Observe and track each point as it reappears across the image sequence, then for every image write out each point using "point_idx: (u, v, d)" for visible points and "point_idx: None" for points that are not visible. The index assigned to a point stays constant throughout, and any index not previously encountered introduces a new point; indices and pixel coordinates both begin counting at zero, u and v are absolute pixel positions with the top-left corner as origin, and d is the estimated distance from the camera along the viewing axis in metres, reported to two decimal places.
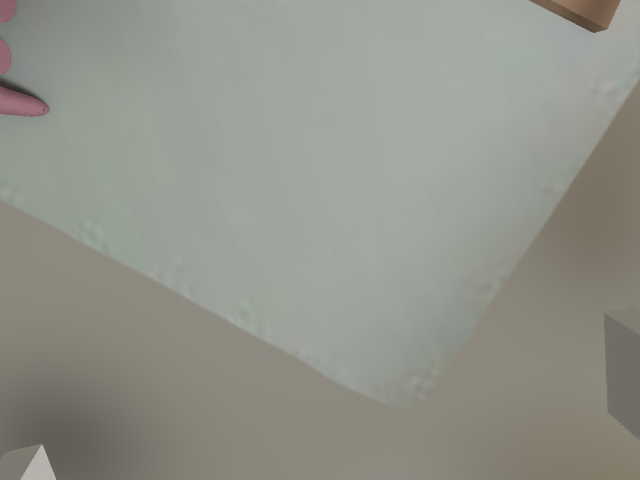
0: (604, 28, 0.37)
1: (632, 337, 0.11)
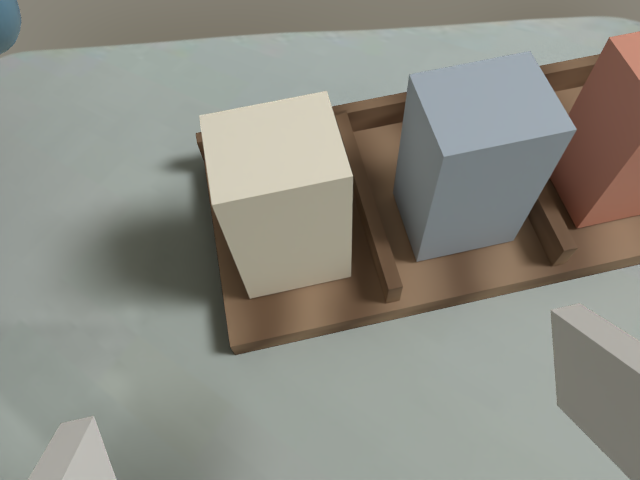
0: None
1: (573, 333, 0.12)
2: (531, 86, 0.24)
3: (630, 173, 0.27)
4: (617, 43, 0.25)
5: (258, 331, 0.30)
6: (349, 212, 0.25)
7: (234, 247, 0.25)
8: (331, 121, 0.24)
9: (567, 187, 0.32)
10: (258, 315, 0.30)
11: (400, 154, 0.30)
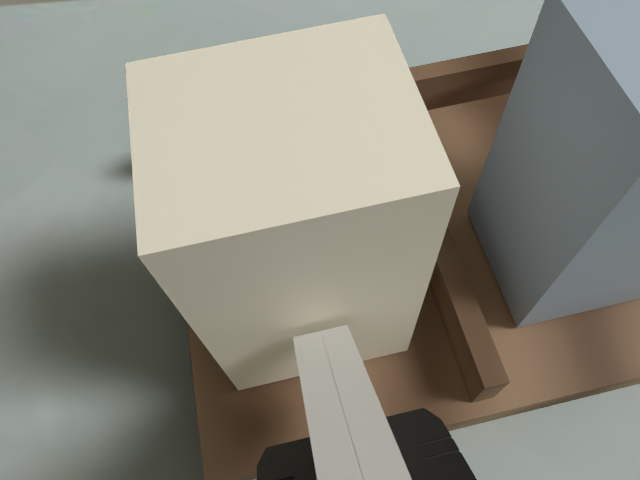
0: None
1: (325, 353, 0.13)
2: None
3: None
4: None
5: (253, 455, 0.17)
6: (431, 257, 0.12)
7: (202, 326, 0.13)
8: (400, 71, 0.11)
9: None
10: (253, 424, 0.18)
11: (496, 148, 0.17)
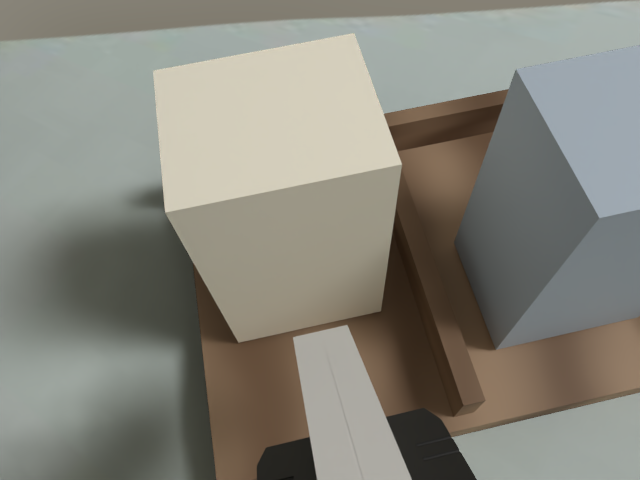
0: None
1: (325, 353, 0.13)
2: None
3: None
4: None
5: None
6: (389, 223, 0.16)
7: (209, 276, 0.16)
8: (362, 78, 0.15)
9: None
10: (260, 434, 0.20)
11: (477, 192, 0.20)
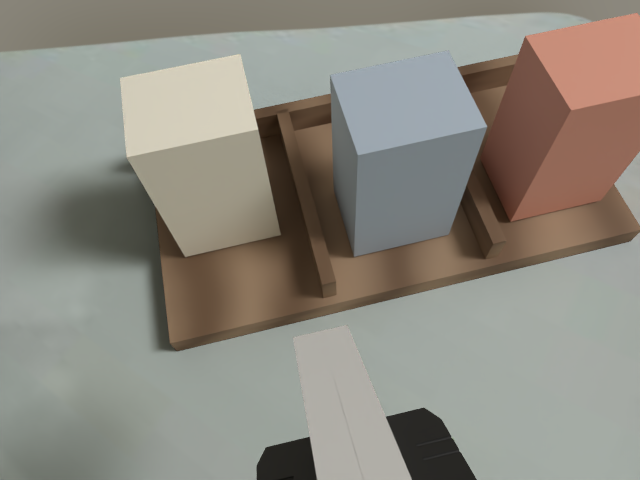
0: (638, 231, 0.33)
1: (326, 353, 0.13)
2: (447, 85, 0.25)
3: (551, 167, 0.28)
4: (532, 41, 0.26)
5: (198, 327, 0.31)
6: (263, 167, 0.27)
7: (158, 201, 0.27)
8: (242, 81, 0.26)
9: (500, 181, 0.33)
10: (198, 312, 0.31)
11: (333, 152, 0.31)
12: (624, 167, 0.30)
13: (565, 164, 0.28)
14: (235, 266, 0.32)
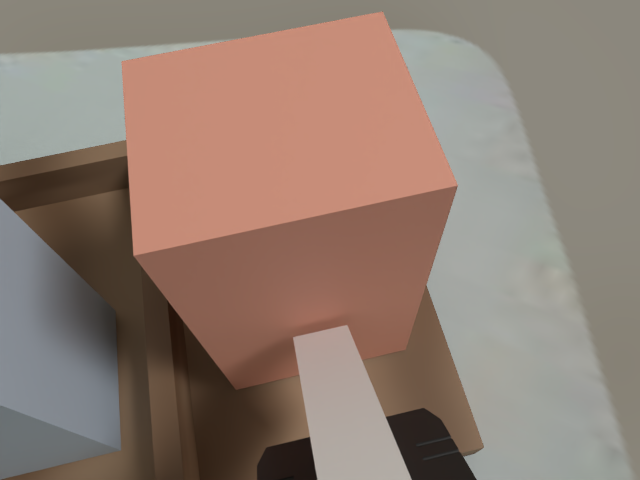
0: (478, 448, 0.17)
1: (326, 353, 0.13)
2: None
3: (227, 332, 0.14)
4: (130, 74, 0.12)
5: None
6: None
7: None
8: None
9: None
10: None
11: None
12: (411, 314, 0.15)
13: (257, 325, 0.14)
14: None
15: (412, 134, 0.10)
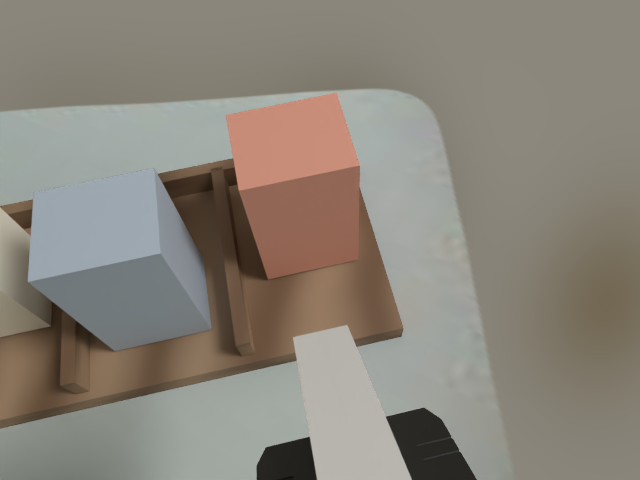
0: (400, 329, 0.33)
1: (326, 353, 0.13)
2: (139, 206, 0.26)
3: (267, 235, 0.30)
4: (230, 120, 0.28)
5: None
6: None
7: None
8: None
9: None
10: None
11: None
12: (355, 232, 0.32)
13: (281, 232, 0.30)
14: (1, 358, 0.33)
15: (344, 146, 0.27)
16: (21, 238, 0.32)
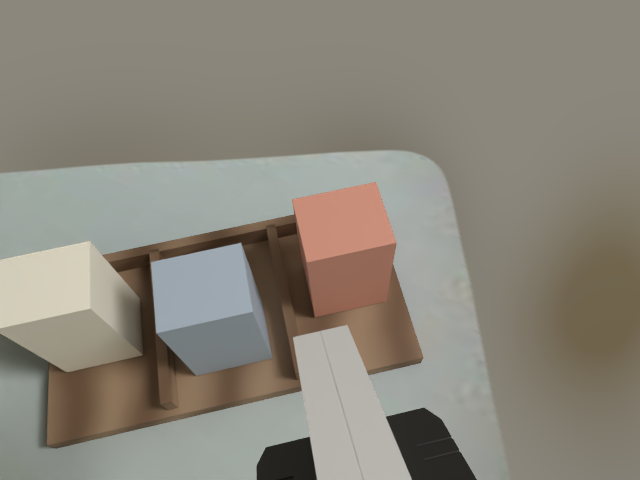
0: (421, 358, 0.42)
1: (325, 353, 0.13)
2: (232, 274, 0.34)
3: (321, 288, 0.39)
4: (295, 204, 0.37)
5: (69, 432, 0.40)
6: (106, 324, 0.36)
7: (29, 347, 0.36)
8: (86, 265, 0.35)
9: (308, 286, 0.43)
10: (71, 419, 0.40)
11: None
12: (387, 284, 0.41)
13: (331, 286, 0.39)
14: (105, 380, 0.42)
15: (384, 226, 0.36)
16: (123, 287, 0.41)
